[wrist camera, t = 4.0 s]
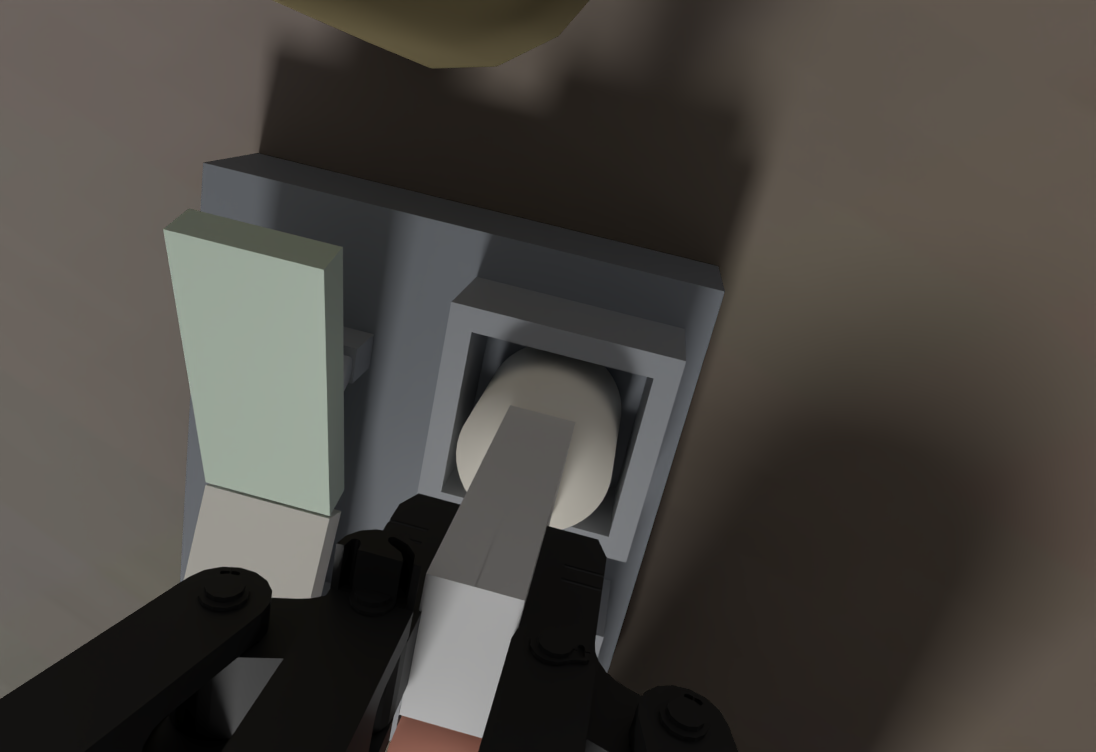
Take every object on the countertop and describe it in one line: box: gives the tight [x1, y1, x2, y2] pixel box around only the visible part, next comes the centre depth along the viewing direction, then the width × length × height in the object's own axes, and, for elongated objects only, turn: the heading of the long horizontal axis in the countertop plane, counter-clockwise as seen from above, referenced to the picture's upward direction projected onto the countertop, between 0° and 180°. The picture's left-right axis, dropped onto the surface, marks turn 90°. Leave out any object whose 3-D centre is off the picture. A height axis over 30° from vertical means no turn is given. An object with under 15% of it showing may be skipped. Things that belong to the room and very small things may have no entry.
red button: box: [387, 716, 482, 752], centre depth 21 cm, size 4×4×3 cm
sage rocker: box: [163, 209, 352, 516], centre depth 20 cm, size 4×8×2 cm, turn 168°
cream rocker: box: [184, 484, 341, 599], centre depth 23 cm, size 4×8×2 cm, turn 168°
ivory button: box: [456, 347, 621, 530], centre depth 20 cm, size 4×4×3 cm
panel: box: [180, 153, 725, 741], centre depth 24 cm, size 14×16×6 cm
